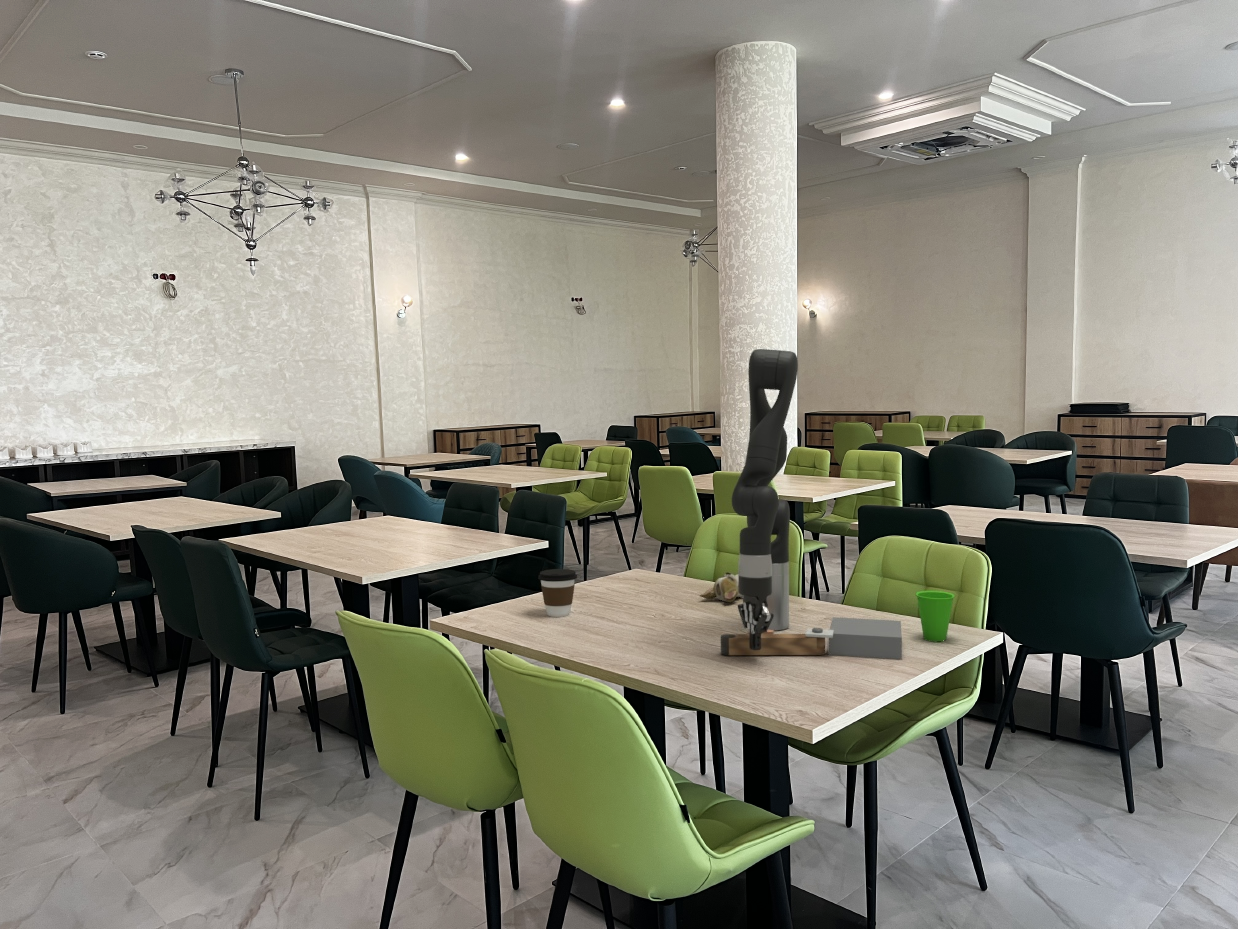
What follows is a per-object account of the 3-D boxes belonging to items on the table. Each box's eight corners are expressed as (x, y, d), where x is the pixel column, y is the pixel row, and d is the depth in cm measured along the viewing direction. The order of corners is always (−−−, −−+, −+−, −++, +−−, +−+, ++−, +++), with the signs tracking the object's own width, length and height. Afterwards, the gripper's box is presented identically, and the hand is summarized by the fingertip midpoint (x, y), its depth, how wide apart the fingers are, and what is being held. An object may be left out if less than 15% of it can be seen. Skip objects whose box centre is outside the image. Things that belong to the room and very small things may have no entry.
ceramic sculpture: (755, 569, 263) (726, 580, 252) (757, 597, 264) (728, 609, 253) (726, 565, 270) (696, 576, 259) (728, 593, 271) (698, 605, 260)
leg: (823, 650, 205) (823, 633, 205) (826, 654, 202) (826, 637, 202) (720, 651, 206) (720, 634, 206) (721, 655, 203) (721, 638, 203)
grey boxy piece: (755, 632, 224) (755, 610, 223) (900, 641, 214) (900, 617, 213) (744, 652, 206) (744, 627, 206) (901, 662, 196) (901, 636, 196)
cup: (952, 635, 218) (953, 591, 218) (956, 645, 210) (956, 599, 209) (914, 633, 221) (914, 590, 220) (916, 642, 212) (916, 597, 211)
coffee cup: (573, 619, 240) (572, 576, 240) (534, 618, 242) (533, 575, 241) (581, 610, 251) (580, 568, 250) (544, 609, 253) (543, 568, 252)
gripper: (784, 577, 195) (784, 654, 195) (755, 568, 207) (755, 641, 208) (754, 579, 192) (754, 658, 193) (726, 570, 205) (726, 644, 205)
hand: (755, 649), depth 200 cm, fingers closed
